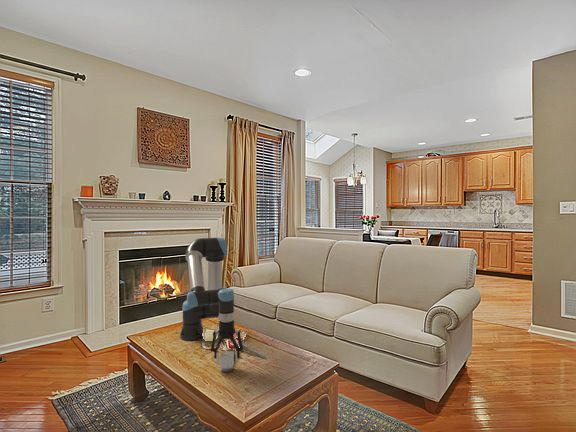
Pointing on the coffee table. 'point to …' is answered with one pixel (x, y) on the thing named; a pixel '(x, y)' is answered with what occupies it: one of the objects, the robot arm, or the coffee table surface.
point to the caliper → (253, 351)
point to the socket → (227, 359)
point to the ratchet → (227, 370)
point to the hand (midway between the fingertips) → (227, 364)
